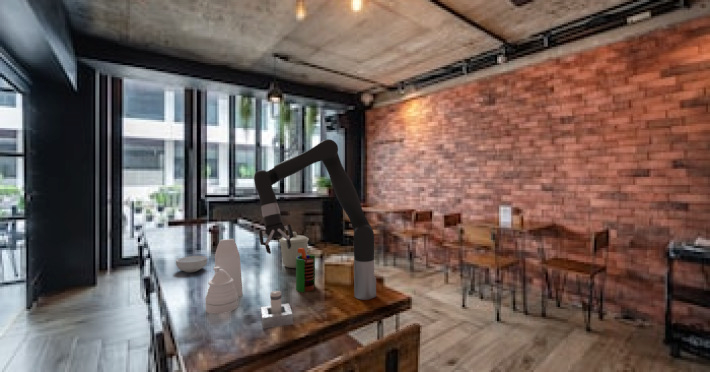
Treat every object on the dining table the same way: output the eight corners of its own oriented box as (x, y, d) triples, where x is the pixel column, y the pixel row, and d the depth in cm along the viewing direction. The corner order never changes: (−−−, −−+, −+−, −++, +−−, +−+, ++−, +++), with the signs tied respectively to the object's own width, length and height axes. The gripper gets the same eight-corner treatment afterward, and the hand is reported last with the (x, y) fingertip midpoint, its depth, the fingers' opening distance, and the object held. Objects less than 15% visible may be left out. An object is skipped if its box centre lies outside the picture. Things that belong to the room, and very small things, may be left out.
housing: (289, 313, 142) (288, 303, 142) (292, 324, 131) (292, 313, 131) (261, 316, 139) (261, 307, 138) (262, 328, 128) (262, 317, 128)
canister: (306, 269, 205) (306, 234, 204) (276, 270, 205) (275, 234, 204) (311, 261, 223) (310, 229, 222) (283, 262, 223) (282, 229, 222)
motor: (310, 292, 166) (309, 251, 165) (292, 291, 168) (292, 250, 167) (317, 285, 176) (316, 246, 175) (300, 284, 177) (299, 246, 177)
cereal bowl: (213, 269, 208) (213, 257, 208) (187, 276, 194) (186, 263, 194) (196, 265, 218) (196, 254, 217) (170, 271, 203) (170, 260, 203)
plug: (281, 317, 138) (280, 290, 137) (282, 321, 134) (281, 293, 133) (270, 319, 136) (269, 291, 136) (271, 323, 132) (270, 295, 132)
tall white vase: (215, 299, 159) (213, 242, 157) (214, 291, 169) (213, 238, 168) (242, 295, 163) (241, 240, 162) (240, 287, 174) (239, 236, 173)
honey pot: (218, 316, 140) (217, 272, 139) (199, 309, 146) (197, 267, 146) (244, 305, 150) (243, 264, 150) (224, 300, 157) (223, 260, 157)
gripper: (256, 217, 146) (264, 255, 143) (289, 210, 151) (297, 246, 149) (254, 219, 152) (262, 255, 150) (285, 212, 158) (293, 247, 156)
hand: (279, 251), depth 150 cm, fingers open, 8 cm apart
